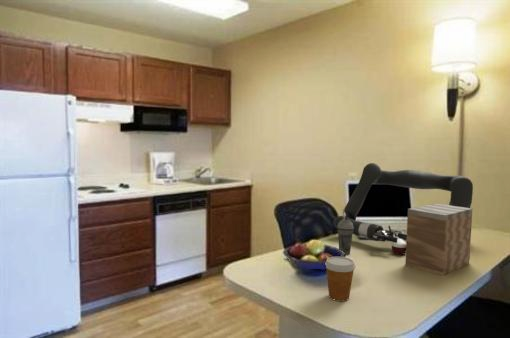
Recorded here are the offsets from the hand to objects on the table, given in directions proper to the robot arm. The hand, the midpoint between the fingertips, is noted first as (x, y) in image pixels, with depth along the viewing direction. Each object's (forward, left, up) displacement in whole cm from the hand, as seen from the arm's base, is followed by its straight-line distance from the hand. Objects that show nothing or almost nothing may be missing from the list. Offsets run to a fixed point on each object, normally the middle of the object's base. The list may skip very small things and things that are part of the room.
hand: (402, 238), depth 164 cm
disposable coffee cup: (+58, +12, -7) cm, 60 cm away
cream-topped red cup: (0, -2, -7) cm, 7 cm away
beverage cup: (+20, -16, -7) cm, 26 cm away
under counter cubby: (0, +16, -7) cm, 17 cm away
